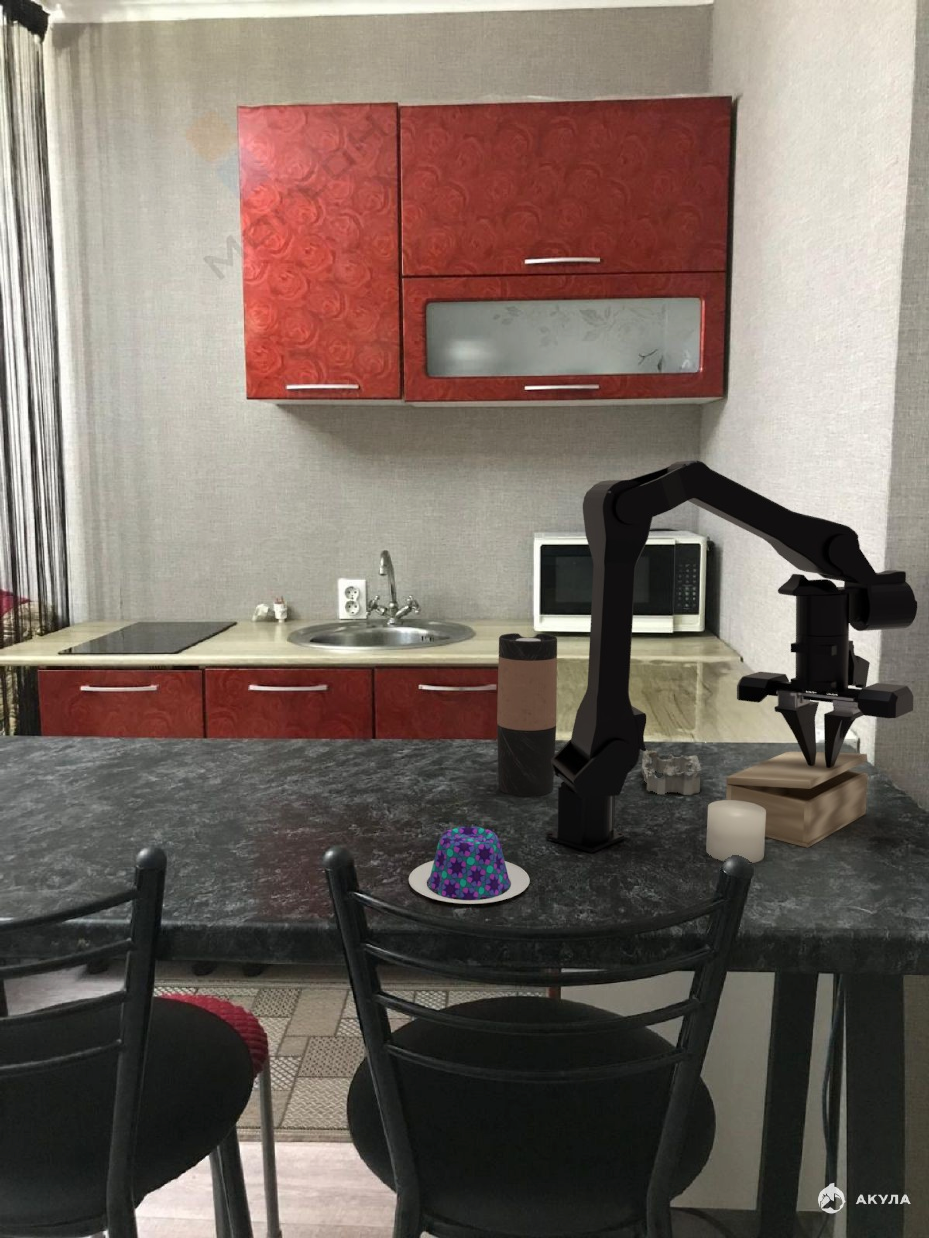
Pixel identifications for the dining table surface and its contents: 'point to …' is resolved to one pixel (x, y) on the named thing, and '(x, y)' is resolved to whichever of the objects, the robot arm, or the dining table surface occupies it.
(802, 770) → the box lid
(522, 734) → the travel mug
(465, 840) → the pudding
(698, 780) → the egg carton
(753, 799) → the storage box
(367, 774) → the dining table surface
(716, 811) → the beige tapered cylinder
